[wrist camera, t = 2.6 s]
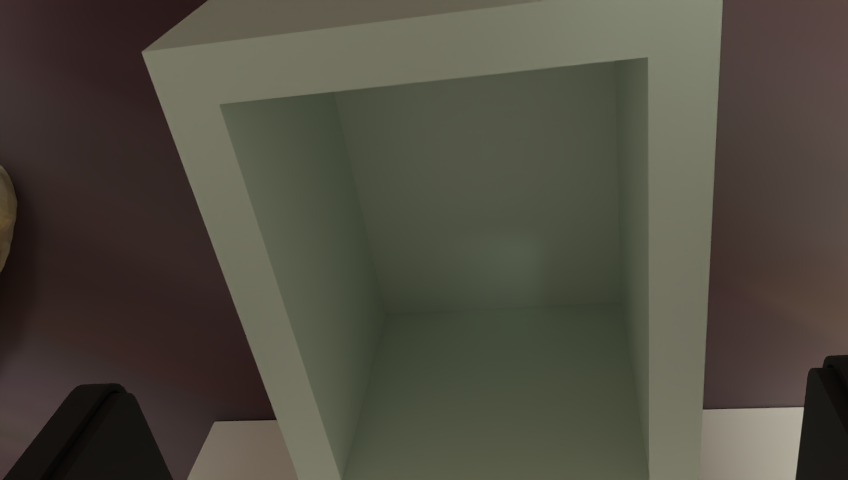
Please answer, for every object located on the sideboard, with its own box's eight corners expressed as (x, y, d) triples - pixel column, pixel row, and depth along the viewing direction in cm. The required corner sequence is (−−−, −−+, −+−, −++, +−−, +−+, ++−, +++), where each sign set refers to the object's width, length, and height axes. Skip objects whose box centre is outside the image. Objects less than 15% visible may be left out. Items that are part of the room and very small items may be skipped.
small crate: (268, -47, 14) (141, 52, 10) (655, -105, 13) (723, -22, 8) (364, 325, 19) (310, 511, 14) (655, 311, 18) (697, 510, 13)
